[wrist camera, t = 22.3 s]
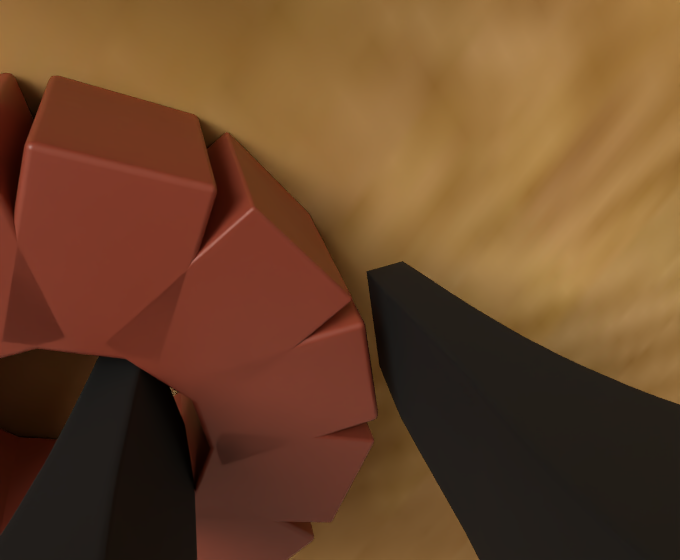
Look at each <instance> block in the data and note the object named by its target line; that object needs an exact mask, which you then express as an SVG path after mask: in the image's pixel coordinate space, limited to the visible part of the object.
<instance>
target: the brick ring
mask: <svg viewBox="0 0 680 560" xmlns="http://www.w3.org/2000/svg"><path fill="white" fill-rule="evenodd" d="M34 349H44V350H52V351H61V352H69V353H78V354H86V355H95V356H103V357H112V358H120V359H126V360H128V361H129V362H131V363H133V364H134V365H136V366H137V367H139V368H141V369H142V370H144V371H145V372H147V373H149V374H150V375H152V376H153V377H155V378H157V379H158V380H160V381H161V382H163V383H165V384H166V385H168V386H169V387H171V388H173V389H174V390H176V391H177V392H178V393H177V394H176V395H175V396H174V399H175V402H176V404H177V406H178V409H179V411H180V414H181V416H182V419H183V421H184V423H185V428H186V434H187V440H188V446H189V452H190V458H191V465H192V471H193V478H194V490H195V511H196V536H197V560H288V559H289V558H290V557H292V556H293V555H294V554H296V553H297V552H298V551H300V550H301V549H302V548H304V547H305V546H306V545H308V544H309V543H310V542H312V541H313V539H314V534H313V530H312V526H311V523H310V522H331V521H333V519H334V517H335V515H336V513H337V511H338V509H339V507H340V505H341V504H342V502H343V500H344V498H345V496H346V494H347V492H348V490H349V489H350V487H351V485H352V483H353V481H354V479H355V477H356V475H357V474H358V472H359V470H360V468H361V466H362V464H363V462H364V460H365V458H366V457H367V455H368V453H369V451H370V449H371V447H372V445H373V443H374V438H373V436H372V433H371V431H370V429H369V426H368V424H367V422H369V421H372V420H375V419H376V418H377V416H378V409H377V402H376V395H375V388H374V382H373V375H372V368H371V361H370V354H369V348H368V341H367V334H366V327H365V323H364V321H363V319H362V317H361V315H360V313H359V311H358V309H357V307H356V305H355V304H354V302H353V300H352V297H351V295H350V293H349V291H348V289H347V287H346V285H345V283H344V281H343V279H342V277H341V275H340V273H339V271H338V269H337V267H336V265H335V264H334V262H333V260H332V258H331V256H330V254H329V252H328V250H327V248H326V246H325V244H324V242H323V240H322V238H321V236H320V234H319V232H318V230H317V228H316V226H315V224H314V223H313V221H312V219H311V217H310V215H309V213H308V212H307V211H306V210H305V209H304V208H303V207H302V206H301V205H300V204H299V203H298V202H297V201H296V200H295V199H294V198H293V197H292V196H291V195H290V194H289V193H288V192H287V191H286V190H285V189H284V188H283V187H282V186H281V185H280V184H279V183H278V182H277V181H276V180H275V179H274V178H273V177H272V176H271V175H270V174H269V173H268V172H267V171H266V170H265V169H264V168H263V167H262V166H261V165H260V164H259V163H258V162H257V161H256V160H255V159H254V158H253V157H252V156H251V155H250V154H249V153H248V152H247V151H246V150H245V149H244V148H243V147H242V146H241V145H240V144H239V143H238V142H237V141H236V140H235V139H234V138H233V137H232V136H231V135H230V134H229V133H227V132H226V133H224V134H223V135H222V136H221V137H220V138H219V139H218V140H217V141H216V142H214V143H213V144H212V145H211V146H210V147H209V148H208V149H206V145H205V142H204V138H203V134H202V130H201V127H200V123H199V119H198V117H197V116H195V115H194V114H190V113H187V112H183V111H180V110H176V109H173V108H169V107H166V106H162V105H159V104H155V103H152V102H148V101H145V100H141V99H138V98H134V97H131V96H127V95H124V94H120V93H117V92H113V91H110V90H106V89H103V88H99V87H96V86H92V85H89V84H85V83H82V82H78V81H75V80H71V79H68V78H64V77H61V76H52V77H51V78H50V80H49V81H48V84H47V87H46V89H45V92H44V95H43V97H42V100H41V103H40V105H39V108H38V111H37V113H36V116H35V119H34V120H33V118H32V115H31V113H30V111H29V108H28V106H27V104H26V102H25V99H24V97H23V95H22V92H21V90H20V88H19V86H18V83H17V81H16V79H15V77H14V76H13V75H12V74H10V73H3V74H0V359H1V358H4V357H8V356H12V355H15V354H19V353H23V352H26V351H30V350H34ZM56 441H57V439H43V438H28V437H18V436H15V435H13V434H11V433H9V432H7V431H5V430H3V429H1V428H0V535H1V533H2V532H3V530H4V529H5V527H6V526H7V524H8V523H9V521H10V520H11V518H12V516H13V515H14V513H15V511H16V510H17V508H18V506H19V505H20V503H21V501H22V500H23V498H24V496H25V495H26V493H27V491H28V490H29V488H30V486H31V485H32V483H33V481H34V480H35V478H36V476H37V475H38V473H39V471H40V470H41V468H42V466H43V465H44V463H45V461H46V459H47V457H48V456H49V454H50V452H51V450H52V448H53V446H54V444H55V443H56Z"/></svg>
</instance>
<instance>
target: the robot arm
mask: <svg viewBox="0 0 680 560" xmlns="http://www.w3.org/2000/svg"><path fill="white" fill-rule="evenodd" d="M366 272H367V279H368V286H369V293H370V301H371V308H372V315H373V323H374V330H375V337H376V344H377V352H378V359H379V366H380V368H381V371H382V373H383V376H384V378H385V381H386V383H387V386H388V388H389V391H390V393H391V395H392V398H393V400H394V403H395V405H396V407H397V410H398V412H399V414H400V417H401V419H402V421H403V422H404V424H405V426H406V428H407V430H408V431H409V433H410V435H411V437H412V439H413V440H414V442H415V444H416V446H417V448H418V449H419V451H420V453H421V455H422V456H423V458H424V460H425V462H426V464H427V465H428V467H429V469H430V471H431V472H432V474H433V476H434V478H435V479H436V481H437V483H438V485H439V486H440V488H441V490H442V492H443V494H444V495H445V497H446V499H447V501H448V502H449V504H450V506H451V508H452V509H453V511H454V513H455V515H456V516H457V518H458V520H459V522H460V524H461V525H462V527H463V529H464V531H465V532H466V534H467V536H468V538H469V540H470V542H471V544H472V546H473V548H474V550H475V552H476V554H477V556H478V558H479V560H680V405H679V404H676V403H673V402H671V401H668V400H665V399H662V398H659V397H656V396H654V395H651V394H649V393H646V392H643V391H641V390H638V389H636V388H633V387H630V386H628V385H626V384H623V383H621V382H619V381H616V380H614V379H612V378H609V377H607V376H605V375H602V374H600V373H598V372H595V371H593V370H591V369H588V368H586V367H584V366H581V365H579V364H577V363H575V362H573V361H571V360H569V359H567V358H564V357H562V356H560V355H558V354H556V353H554V352H552V351H550V350H549V349H547V348H545V347H543V346H541V345H539V344H537V343H535V342H533V341H531V340H529V339H527V338H525V337H523V336H522V335H520V334H518V333H516V332H514V331H513V330H511V329H509V328H507V327H506V326H504V325H502V324H501V323H499V322H497V321H495V320H494V319H492V318H490V317H489V316H487V315H485V314H484V313H482V312H480V311H479V310H477V309H475V308H474V307H472V306H471V305H469V304H467V303H466V302H464V301H463V300H461V299H460V298H458V297H456V296H455V295H453V294H452V293H450V292H449V291H447V290H446V289H444V288H443V287H441V286H440V285H438V284H437V283H435V282H434V281H432V280H431V279H429V278H428V277H426V276H424V275H423V274H421V273H420V272H418V271H417V270H415V269H414V268H412V267H411V266H409V265H408V264H406V263H404V262H403V261H402V262H399V263H395V264H391V265H388V266H384V267H381V268H377V269H373V270H370V271H366ZM0 560H197V536H196V511H195V490H194V478H193V471H192V465H191V458H190V452H189V446H188V440H187V434H186V428H185V423H184V421H183V419H182V416H181V414H180V411H179V409H178V406H177V404H176V402H175V399H174V397H173V394H172V392H171V390H170V387H169V386H168V385H166V384H165V383H163V382H161V381H160V380H158V379H157V378H155V377H153V376H152V375H150V374H149V373H147V372H145V371H144V370H142V369H141V368H139V367H137V366H136V365H134V364H133V363H131V362H129V361H128V360H126V359H120V358H112V357H103V356H99V357H98V359H97V361H96V363H95V365H94V367H93V370H92V372H91V374H90V376H89V378H88V380H87V382H86V384H85V386H84V388H83V390H82V392H81V394H80V396H79V398H78V400H77V402H76V404H75V406H74V408H73V410H72V412H71V414H70V416H69V418H68V420H67V422H66V424H65V426H64V428H63V429H62V431H61V433H60V435H59V437H58V439H57V441H56V443H55V444H54V446H53V448H52V450H51V452H50V454H49V456H48V457H47V459H46V461H45V463H44V465H43V466H42V468H41V470H40V471H39V473H38V475H37V476H36V478H35V480H34V481H33V483H32V485H31V486H30V488H29V490H28V491H27V493H26V495H25V496H24V498H23V500H22V501H21V503H20V505H19V506H18V508H17V510H16V511H15V513H14V515H13V516H12V518H11V520H10V521H9V523H8V524H7V526H6V527H5V529H4V530H3V532H2V533H1V535H0Z"/></svg>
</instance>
